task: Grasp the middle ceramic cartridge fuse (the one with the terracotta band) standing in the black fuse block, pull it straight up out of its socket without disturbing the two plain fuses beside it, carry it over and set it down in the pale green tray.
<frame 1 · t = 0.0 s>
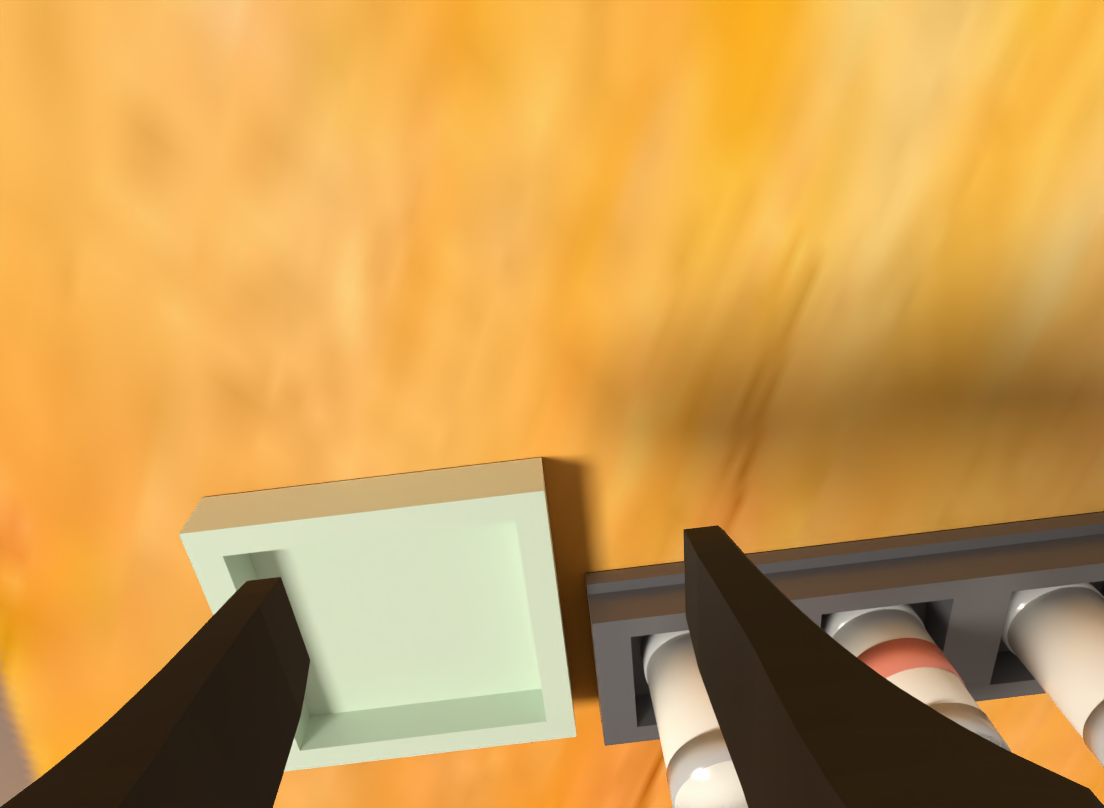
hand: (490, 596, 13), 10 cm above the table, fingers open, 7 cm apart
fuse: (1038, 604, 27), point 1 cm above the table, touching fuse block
fuse marked: (863, 625, 27), point 1 cm above the table, touching fuse block
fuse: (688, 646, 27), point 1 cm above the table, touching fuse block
tray: (405, 605, 26), on the table
fuse block: (856, 613, 28), on the table
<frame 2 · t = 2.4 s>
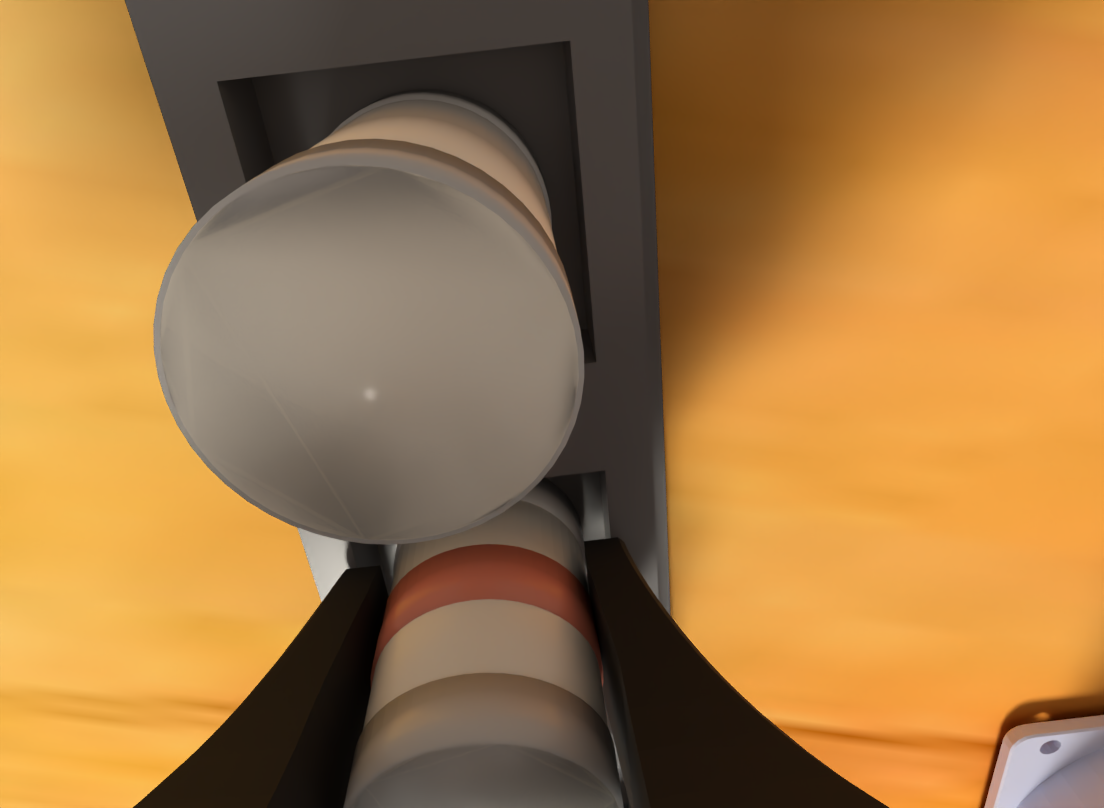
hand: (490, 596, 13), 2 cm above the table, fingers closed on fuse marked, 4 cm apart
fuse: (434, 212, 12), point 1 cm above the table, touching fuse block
fuse marked: (491, 540, 15), point 1 cm above the table, touching fuse block, gripper
fuse block: (492, 522, 15), on the table
when the fingers open (4 cm above the table, at t = 6.4 s): fuse marked drops 2 cm, resting on tray.
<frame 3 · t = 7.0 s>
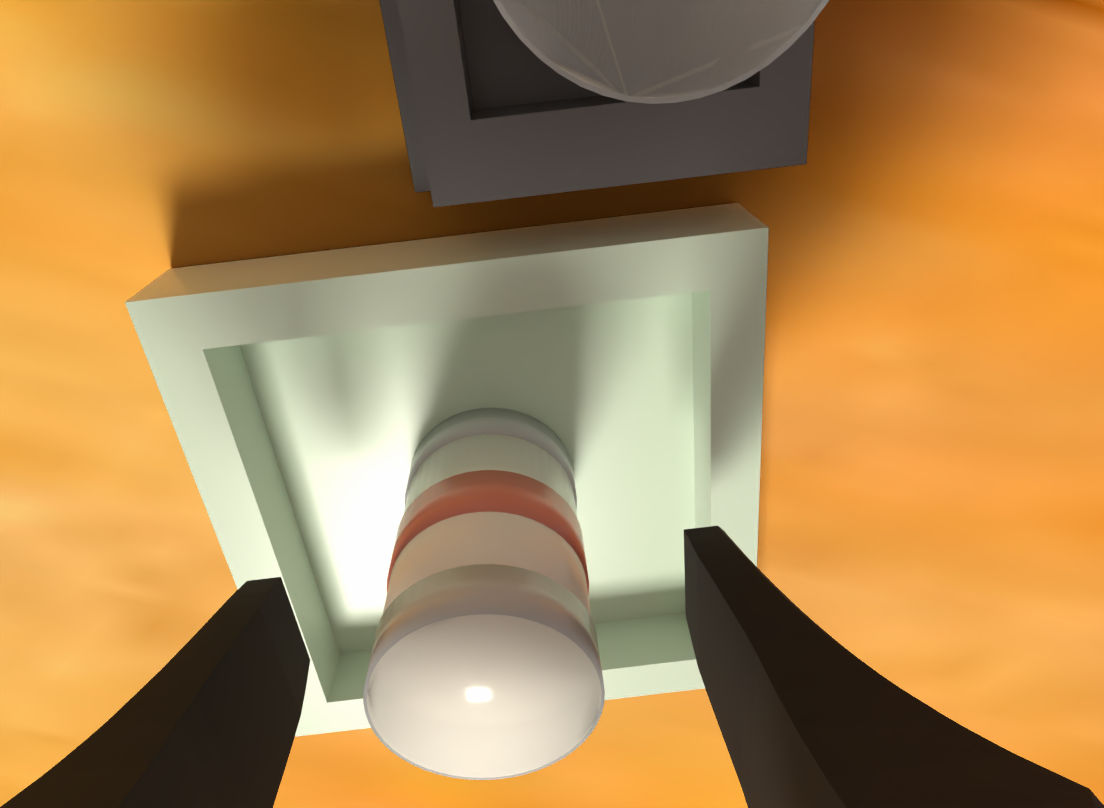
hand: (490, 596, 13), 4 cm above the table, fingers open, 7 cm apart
fuse marked: (492, 479, 16), resting on tray
tray: (493, 474, 17), on the table
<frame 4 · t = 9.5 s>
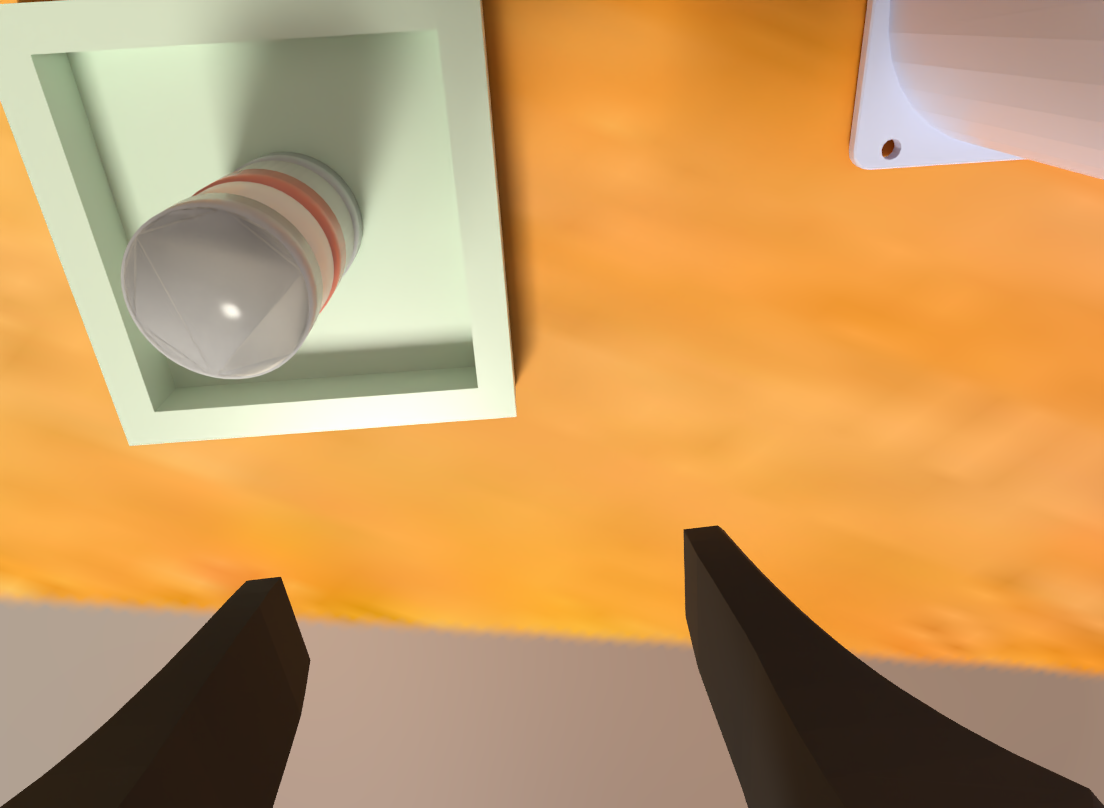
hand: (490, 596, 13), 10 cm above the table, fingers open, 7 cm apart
fuse marked: (294, 221, 20), resting on tray
tray: (299, 222, 20), on the table
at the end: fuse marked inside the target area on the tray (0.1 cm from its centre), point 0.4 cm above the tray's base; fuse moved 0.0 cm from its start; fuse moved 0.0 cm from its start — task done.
